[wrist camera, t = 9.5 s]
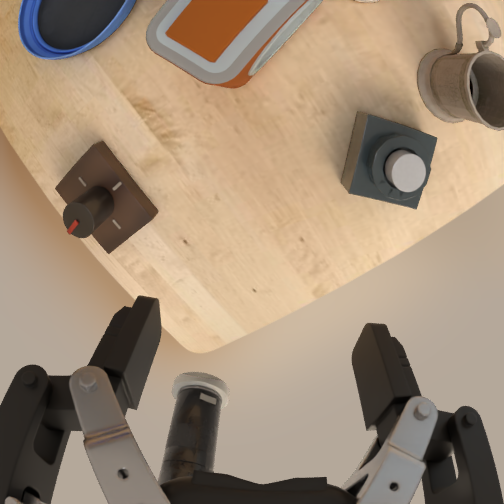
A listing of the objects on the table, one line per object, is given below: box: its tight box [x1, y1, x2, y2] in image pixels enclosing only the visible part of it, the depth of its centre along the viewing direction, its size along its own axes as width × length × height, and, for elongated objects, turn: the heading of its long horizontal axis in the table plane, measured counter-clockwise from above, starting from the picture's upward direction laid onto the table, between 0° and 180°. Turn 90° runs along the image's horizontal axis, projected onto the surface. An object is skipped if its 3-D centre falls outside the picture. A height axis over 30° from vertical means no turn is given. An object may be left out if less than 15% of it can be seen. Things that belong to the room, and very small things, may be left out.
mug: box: [418, 3, 504, 131], centre depth 21 cm, size 14×10×12 cm
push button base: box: [341, 112, 437, 209], centre depth 30 cm, size 9×9×6 cm
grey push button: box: [385, 150, 426, 192], centre depth 27 cm, size 4×4×2 cm
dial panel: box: [55, 141, 158, 254], centre depth 36 cm, size 12×9×3 cm
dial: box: [63, 186, 114, 238], centre depth 32 cm, size 4×4×6 cm
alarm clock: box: [146, 0, 323, 88], centre depth 21 cm, size 15×8×14 cm, turn 142°
